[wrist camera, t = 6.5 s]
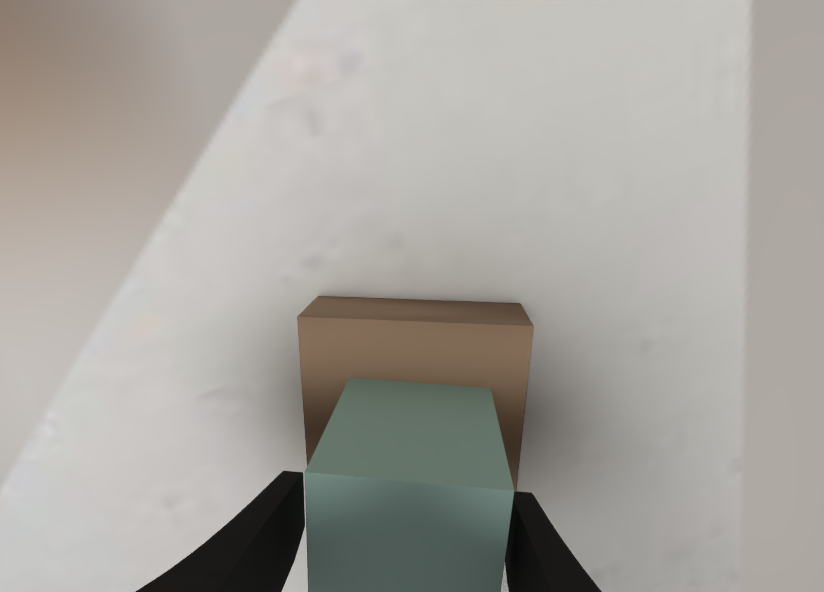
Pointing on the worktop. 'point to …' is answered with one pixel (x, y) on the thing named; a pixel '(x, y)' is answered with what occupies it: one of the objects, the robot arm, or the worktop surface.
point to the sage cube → (408, 491)
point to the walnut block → (415, 354)
